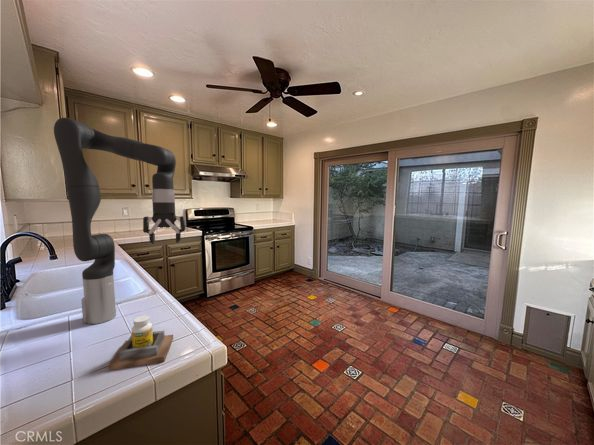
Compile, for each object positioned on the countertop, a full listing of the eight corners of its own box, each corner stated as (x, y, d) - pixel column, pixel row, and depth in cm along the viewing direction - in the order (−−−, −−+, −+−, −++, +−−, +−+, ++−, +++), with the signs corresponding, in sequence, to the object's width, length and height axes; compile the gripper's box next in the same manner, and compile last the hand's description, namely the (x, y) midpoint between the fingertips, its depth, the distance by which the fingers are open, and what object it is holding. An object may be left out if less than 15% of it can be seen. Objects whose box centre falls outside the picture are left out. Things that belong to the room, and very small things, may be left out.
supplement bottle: (152, 341, 79) (151, 312, 78) (153, 350, 74) (152, 320, 73) (132, 346, 76) (131, 317, 75) (132, 356, 71) (130, 324, 70)
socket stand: (108, 370, 67) (107, 356, 67) (125, 344, 79) (125, 333, 78) (164, 361, 71) (163, 348, 71) (173, 338, 83) (172, 327, 82)
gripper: (185, 201, 98) (186, 240, 100) (145, 200, 94) (147, 242, 96) (182, 201, 91) (183, 244, 93) (139, 201, 87) (141, 245, 89)
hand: (165, 243), depth 94 cm, fingers open, 8 cm apart
